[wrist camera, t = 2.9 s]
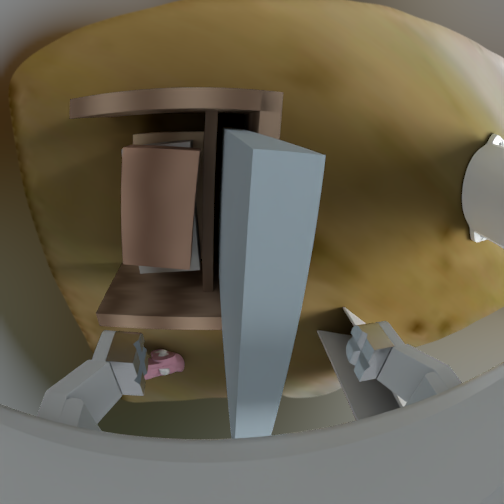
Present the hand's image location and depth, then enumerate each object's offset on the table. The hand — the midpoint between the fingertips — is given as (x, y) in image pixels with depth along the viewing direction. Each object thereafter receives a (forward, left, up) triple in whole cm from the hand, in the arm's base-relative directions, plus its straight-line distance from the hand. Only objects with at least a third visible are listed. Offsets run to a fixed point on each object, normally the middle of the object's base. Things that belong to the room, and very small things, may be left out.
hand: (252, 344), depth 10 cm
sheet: (0, 0, -22) cm, 22 cm away
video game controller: (+11, +24, -23) cm, 34 cm away
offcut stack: (+6, 0, -22) cm, 23 cm away
